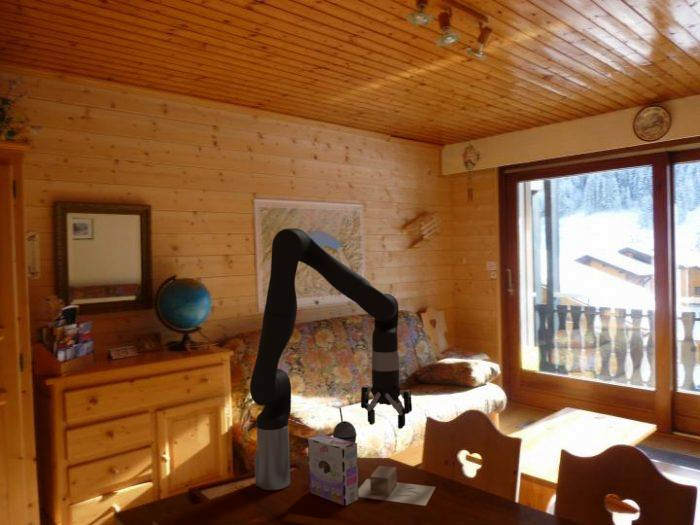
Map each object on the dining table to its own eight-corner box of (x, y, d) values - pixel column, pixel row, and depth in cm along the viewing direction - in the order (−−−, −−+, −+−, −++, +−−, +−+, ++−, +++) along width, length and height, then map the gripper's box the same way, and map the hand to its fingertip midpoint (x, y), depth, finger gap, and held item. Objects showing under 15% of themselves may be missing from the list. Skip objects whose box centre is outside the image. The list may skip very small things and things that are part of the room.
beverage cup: (357, 477, 163) (355, 410, 163) (333, 477, 164) (331, 411, 163) (357, 467, 171) (355, 403, 171) (334, 468, 171) (332, 404, 171)
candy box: (360, 504, 145) (358, 442, 145) (344, 512, 141) (342, 448, 141) (323, 490, 155) (322, 432, 155) (308, 497, 151) (306, 437, 150)
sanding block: (370, 494, 147) (370, 476, 147) (379, 483, 155) (379, 465, 155) (388, 497, 146) (388, 478, 146) (396, 485, 153) (396, 467, 153)
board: (352, 501, 147) (352, 495, 147) (367, 483, 158) (367, 478, 158) (425, 511, 140) (425, 505, 140) (435, 492, 151) (435, 486, 151)
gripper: (356, 367, 150) (357, 426, 150) (404, 371, 143) (405, 433, 144) (367, 362, 157) (368, 419, 157) (414, 366, 150) (415, 425, 150)
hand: (386, 426), depth 150 cm, fingers open, 8 cm apart
